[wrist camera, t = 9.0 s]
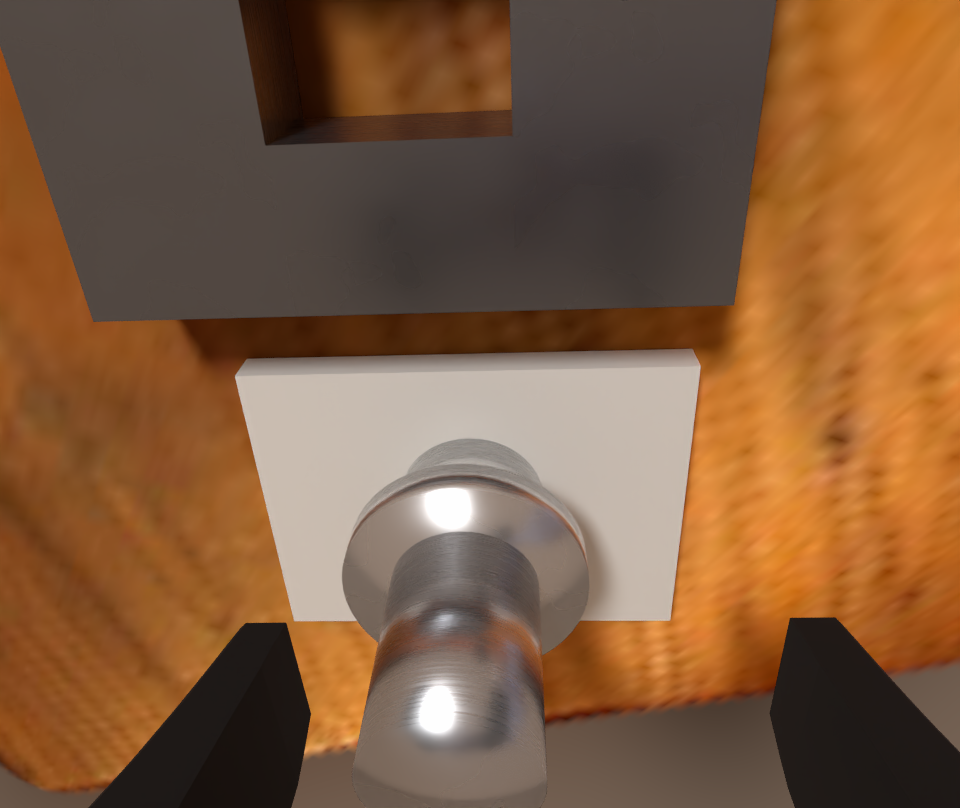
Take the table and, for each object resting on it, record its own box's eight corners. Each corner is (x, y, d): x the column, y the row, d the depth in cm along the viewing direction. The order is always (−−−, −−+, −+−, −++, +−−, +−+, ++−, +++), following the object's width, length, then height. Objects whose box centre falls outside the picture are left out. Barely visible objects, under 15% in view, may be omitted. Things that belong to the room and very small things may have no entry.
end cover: (580, 404, 19) (620, 675, 12) (576, 574, 22) (607, 874, 15) (353, 409, 20) (256, 676, 12) (380, 576, 23) (316, 871, 15)
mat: (692, 348, 19) (700, 366, 19) (664, 597, 24) (670, 620, 23) (246, 358, 20) (234, 376, 19) (302, 598, 25) (294, 621, 24)
